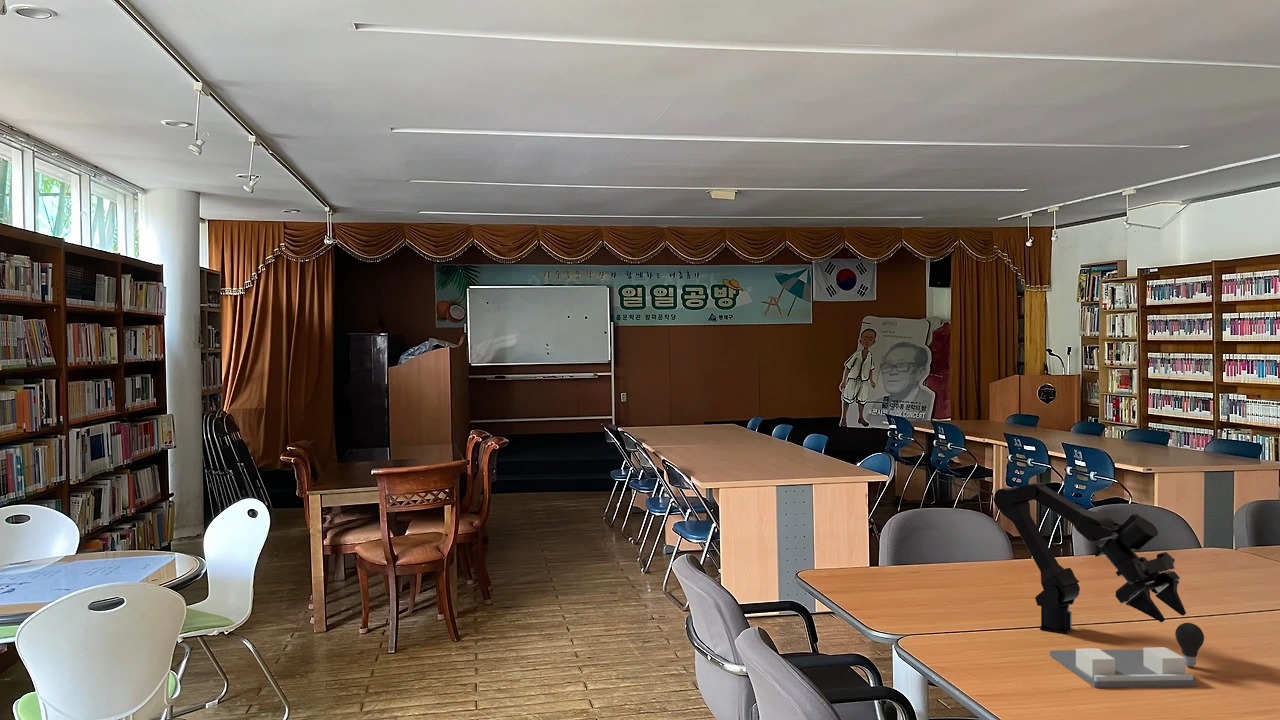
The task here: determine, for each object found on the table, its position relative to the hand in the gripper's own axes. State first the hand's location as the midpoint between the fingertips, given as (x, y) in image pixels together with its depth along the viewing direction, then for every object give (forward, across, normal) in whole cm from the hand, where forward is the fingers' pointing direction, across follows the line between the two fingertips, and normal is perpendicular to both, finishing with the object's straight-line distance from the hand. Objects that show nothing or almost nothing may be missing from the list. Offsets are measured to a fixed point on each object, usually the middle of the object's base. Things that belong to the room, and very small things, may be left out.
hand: (1174, 617), depth 204 cm
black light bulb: (+10, 0, +5) cm, 11 cm away
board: (+4, -15, +10) cm, 19 cm away
